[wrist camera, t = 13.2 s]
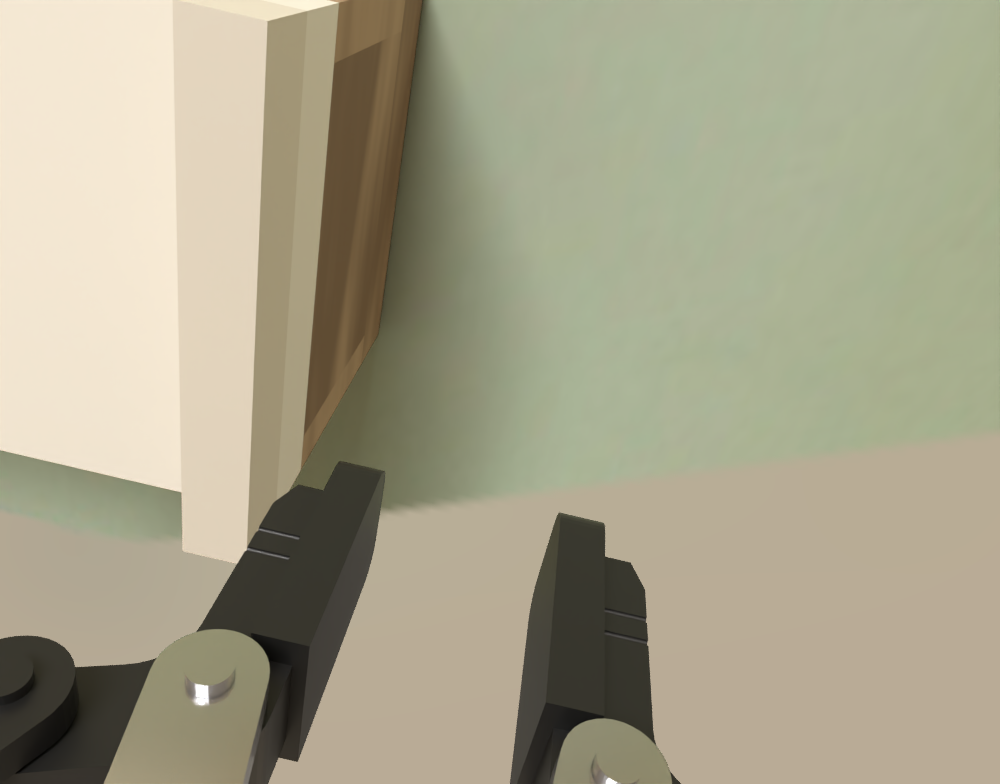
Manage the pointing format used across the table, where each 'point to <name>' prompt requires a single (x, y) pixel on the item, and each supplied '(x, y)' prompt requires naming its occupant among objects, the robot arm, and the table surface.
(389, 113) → the box
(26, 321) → the lid
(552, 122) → the table surface
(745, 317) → the table surface
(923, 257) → the table surface
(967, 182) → the table surface
